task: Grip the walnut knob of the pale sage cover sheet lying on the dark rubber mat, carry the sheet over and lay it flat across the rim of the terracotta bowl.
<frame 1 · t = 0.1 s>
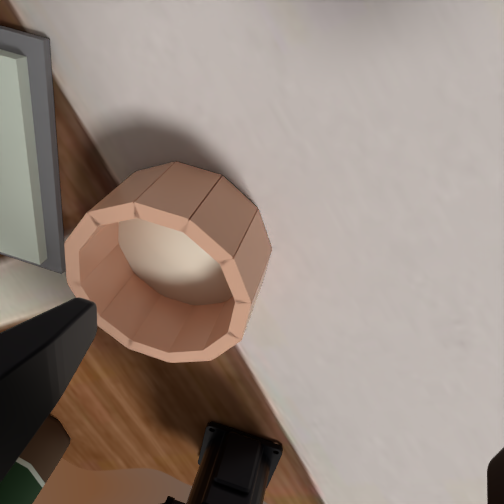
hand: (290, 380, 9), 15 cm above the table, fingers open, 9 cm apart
beer bottle: (38, 425, 44), on the table
bowl: (188, 242, 26), on the table
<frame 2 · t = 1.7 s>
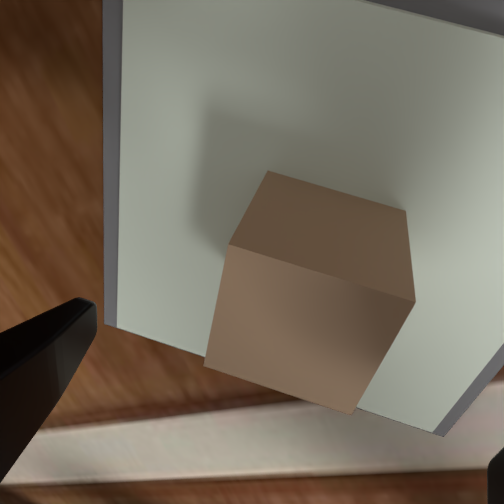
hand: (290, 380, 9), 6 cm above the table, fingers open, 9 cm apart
mat: (320, 226, 14), on the table
cover sheet: (318, 234, 14), resting on mat
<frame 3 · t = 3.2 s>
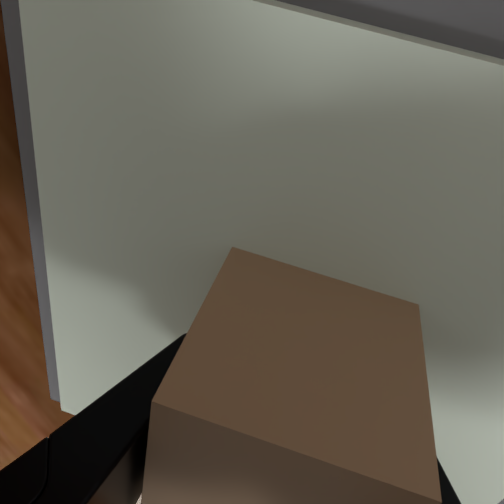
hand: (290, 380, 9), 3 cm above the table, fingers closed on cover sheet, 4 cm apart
mat: (306, 304, 11), on the table
cover sheet: (303, 317, 11), resting on mat, touching gripper
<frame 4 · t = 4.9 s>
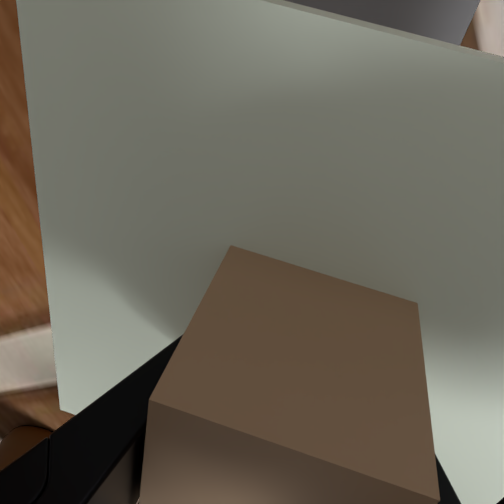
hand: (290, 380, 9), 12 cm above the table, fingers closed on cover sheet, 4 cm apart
mat: (231, 112, 18), on the table
cover sheet: (302, 316, 11), point 10 cm above the table, touching gripper
mug: (32, 432, 40), on the table
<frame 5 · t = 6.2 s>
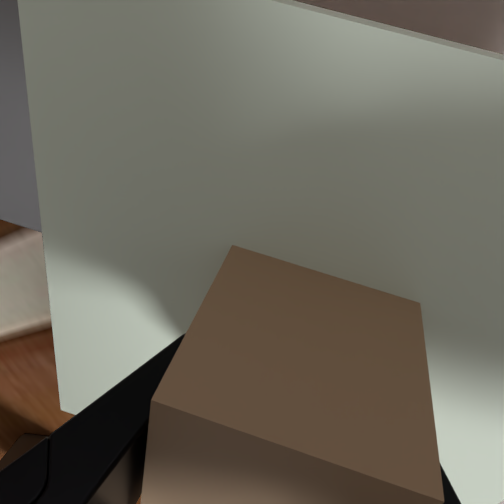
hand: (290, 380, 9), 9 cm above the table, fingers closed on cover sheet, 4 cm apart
beer bottle: (60, 459, 34), on the table
cover sheet: (304, 316, 11), point 7 cm above the table, touching gripper
when the fingers open (8 cm above the table, at t = 6.9 s): cover sheet drops 1 cm, resting on bowl.
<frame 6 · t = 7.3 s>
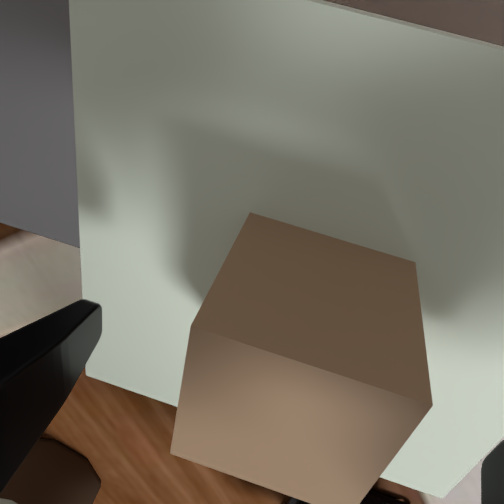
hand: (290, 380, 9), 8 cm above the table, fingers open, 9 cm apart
beer bottle: (59, 462, 34), on the table
cover sheet: (312, 280, 12), point 5 cm above the table, touching bowl
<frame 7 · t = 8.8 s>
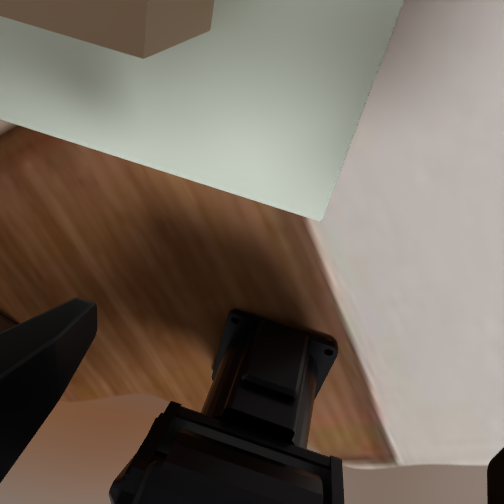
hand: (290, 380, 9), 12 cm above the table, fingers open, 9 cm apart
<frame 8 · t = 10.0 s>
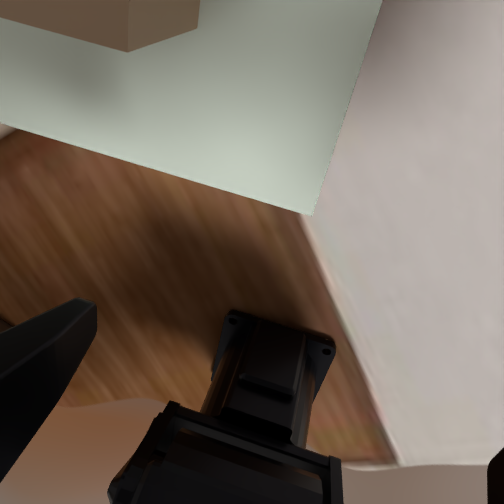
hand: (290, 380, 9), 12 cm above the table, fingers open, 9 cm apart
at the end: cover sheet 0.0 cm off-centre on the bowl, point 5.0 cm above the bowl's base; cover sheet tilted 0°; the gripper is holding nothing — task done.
